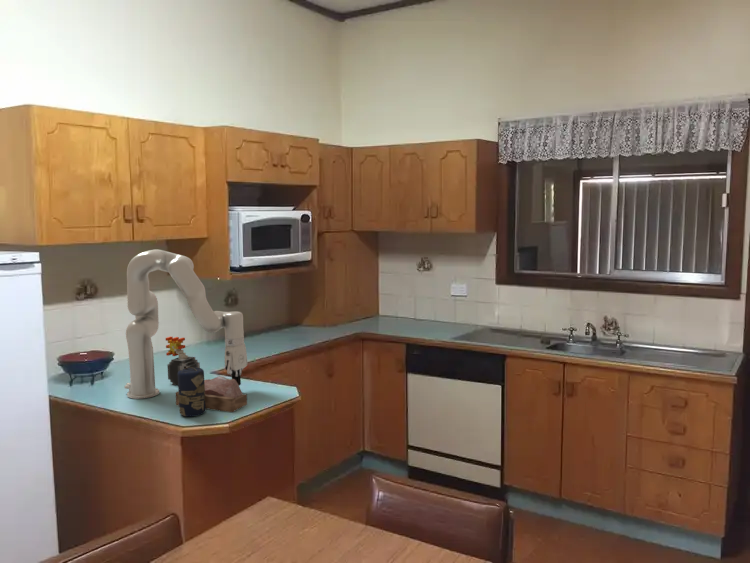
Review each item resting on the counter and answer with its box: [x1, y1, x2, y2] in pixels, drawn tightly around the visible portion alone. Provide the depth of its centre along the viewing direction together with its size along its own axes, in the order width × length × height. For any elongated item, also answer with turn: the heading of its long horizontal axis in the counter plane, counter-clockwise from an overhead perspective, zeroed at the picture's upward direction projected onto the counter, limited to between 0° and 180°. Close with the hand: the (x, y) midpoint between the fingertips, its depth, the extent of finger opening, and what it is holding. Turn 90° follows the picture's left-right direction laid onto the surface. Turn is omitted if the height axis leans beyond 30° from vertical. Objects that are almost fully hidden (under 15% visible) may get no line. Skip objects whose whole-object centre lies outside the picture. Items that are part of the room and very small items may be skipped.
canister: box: [177, 367, 207, 417], centre depth 245 cm, size 10×10×18 cm
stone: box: [204, 375, 244, 398], centre depth 260 cm, size 8×20×13 cm
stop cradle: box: [175, 391, 248, 413], centre depth 257 cm, size 26×10×5 cm, turn 68°
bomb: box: [165, 336, 201, 386], centre depth 287 cm, size 8×13×20 cm, turn 67°
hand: (236, 385), depth 272 cm, fingers closed
